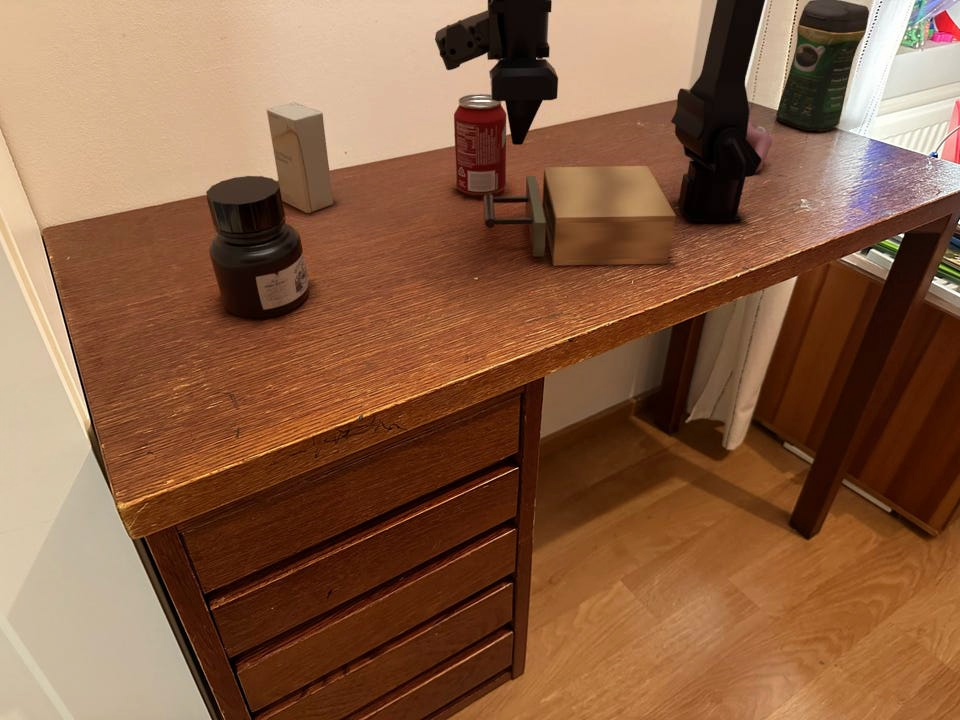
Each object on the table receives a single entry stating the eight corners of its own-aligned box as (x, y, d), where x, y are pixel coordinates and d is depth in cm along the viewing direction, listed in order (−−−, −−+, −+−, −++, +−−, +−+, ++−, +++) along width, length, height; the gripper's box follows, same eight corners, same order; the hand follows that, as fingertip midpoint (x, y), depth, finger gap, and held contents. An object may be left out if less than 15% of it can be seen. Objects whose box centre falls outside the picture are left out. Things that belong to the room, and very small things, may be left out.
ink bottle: (288, 326, 68) (265, 214, 61) (206, 318, 70) (173, 207, 62) (323, 277, 76) (306, 172, 69) (248, 271, 77) (223, 167, 70)
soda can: (500, 201, 92) (501, 109, 85) (451, 197, 93) (447, 106, 86) (509, 181, 97) (510, 93, 90) (462, 178, 98) (460, 91, 91)
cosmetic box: (281, 201, 92) (263, 109, 85) (308, 191, 95) (293, 101, 88) (309, 214, 89) (292, 119, 82) (336, 204, 92) (323, 110, 84)
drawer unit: (553, 265, 78) (556, 217, 74) (541, 211, 89) (543, 167, 86) (667, 263, 78) (676, 215, 74) (641, 209, 89) (647, 165, 86)
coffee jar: (846, 128, 114) (884, 3, 102) (809, 135, 111) (845, 8, 100) (802, 112, 121) (833, -7, 110) (766, 118, 118) (795, -3, 107)
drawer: (485, 257, 78) (485, 223, 75) (483, 208, 88) (482, 176, 86) (639, 255, 78) (644, 220, 75) (618, 205, 88) (622, 174, 86)
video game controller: (762, 177, 101) (778, 128, 100) (758, 173, 97) (775, 122, 96) (697, 164, 106) (711, 117, 104) (690, 159, 102) (705, 111, 100)
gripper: (440, -28, 75) (446, 118, 84) (434, 4, 60) (442, 177, 69) (543, -30, 75) (537, 116, 84) (563, 2, 60) (553, 175, 69)
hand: (517, 143), depth 77 cm, fingers closed
